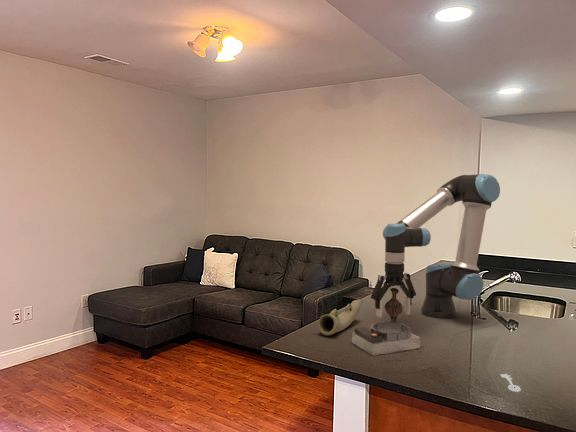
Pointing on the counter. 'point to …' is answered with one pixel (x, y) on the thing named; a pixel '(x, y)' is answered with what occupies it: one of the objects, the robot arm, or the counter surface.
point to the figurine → (393, 306)
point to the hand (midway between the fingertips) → (393, 315)
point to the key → (511, 383)
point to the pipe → (339, 318)
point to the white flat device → (385, 338)
